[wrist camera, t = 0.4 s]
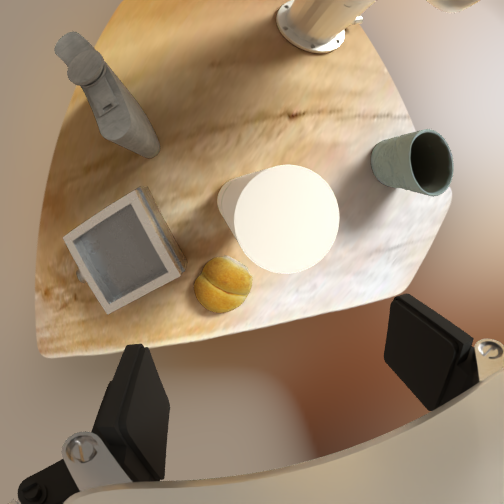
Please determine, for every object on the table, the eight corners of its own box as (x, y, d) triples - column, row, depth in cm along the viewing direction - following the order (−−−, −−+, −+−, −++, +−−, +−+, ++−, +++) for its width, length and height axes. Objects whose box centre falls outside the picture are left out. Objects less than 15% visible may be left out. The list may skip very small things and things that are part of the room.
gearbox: (147, 186, 39) (135, 186, 32) (187, 261, 43) (184, 276, 36) (68, 237, 39) (46, 247, 31) (107, 304, 42) (92, 325, 35)
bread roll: (186, 293, 44) (184, 303, 40) (215, 246, 43) (216, 252, 39) (229, 317, 46) (232, 328, 42) (259, 273, 45) (264, 281, 42)
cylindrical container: (223, 229, 43) (248, 286, 19) (212, 183, 41) (222, 177, 17) (268, 218, 43) (345, 258, 19) (258, 172, 42) (329, 156, 17)
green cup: (414, 155, 45) (459, 152, 34) (398, 201, 47) (443, 208, 35) (376, 126, 43) (419, 115, 31) (358, 175, 44) (401, 175, 33)
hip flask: (99, 88, 34) (41, 36, 15) (119, 73, 34) (73, 11, 15) (146, 162, 38) (99, 143, 19) (169, 146, 38) (139, 113, 19)
